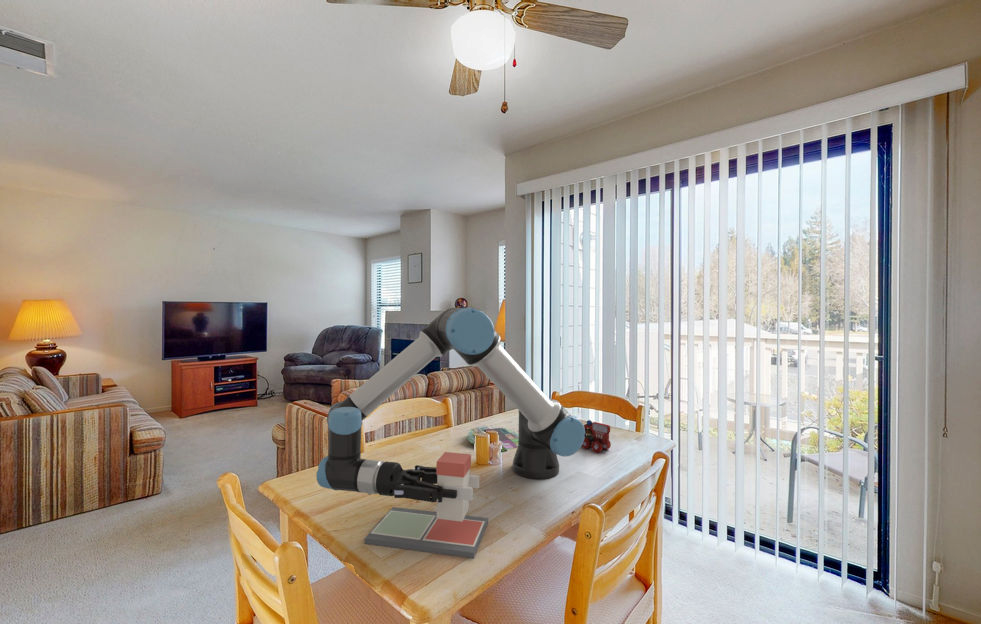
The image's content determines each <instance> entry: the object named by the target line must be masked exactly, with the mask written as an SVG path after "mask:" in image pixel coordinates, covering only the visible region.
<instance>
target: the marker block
mask: <svg viewBox="0 0 981 624" xmlns="http://www.w3.org/2000/svg"><path fill="white" fill-rule="evenodd" d="M471 467H472V454H471V453H459V452H450V451H444V452H443V454H442V455H441V456H440V457H439V458H438V459H437V460H436V468H437V469H436V475H437V484H436V485H439V486H442V487H443V489H444V485H453V486H462V487H469V479H470V475H471V474H470V473H471ZM469 510H470V501H465V500H457V499H448V498H443V497H442V502H440V503H438V499H437V502H436V512H437V519H445V520H453V521H461V522H462V521H463V519H464V517H465V515H466V516H467V513H468V511H469Z"/></svg>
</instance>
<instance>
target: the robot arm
mask: <svg viewBox="0 0 981 624" xmlns="http://www.w3.org/2000/svg"><path fill="white" fill-rule="evenodd" d="M500 343H501V335H500V334H499V333H498V332H497V331H496V330H495V326H494V324H493V321H492V320H491V318H490V317H489V316H488V314H486V312H483V311H482V310H480V309H477V308H474V307H451V308H448V309H447V308H446V309H445V310H444V311H442V312H441V313H439V314H438V315H437V316H436V317H435V318H434V319H433V320H432V321H431V322H429V323H428V324H427V325H426V326H425V327H424V328H422V330H421V331H419V336H418V338H416V339H415V340H413V342H411V343H410V344H409V345H408V346H407V347H405V348H404V349H403V350H402V351H400V353H399V354H397V355H396V356H395V357H394V358H392V359H391V360H390V361H389V362H388V363H386V364H385V365H384V366H383V367H382V368H381V369H379V370H378V371H377V372H376V373H375V374H373V375H372V376H371V377H370V378H369V379H367V380H366V381H365V382H364V383H362V384H361V385H360V386H359V387H358V388H357V389H356V390H354V391H353V392H352V393H351V394H350V395H348V396H347V397H346V398H345V399H343V400H342V401H340V402H337V403H335V404H333V405H332V406H331V407H330V409H329V411H328V413H327V415H326V416H327V417H326V423H327V427H328V428H327V429H328V455H327V456H324V457H323V458H322V459H321V460H320V461H319V464H318V466H317V467H318V469H317V471H316V476H315V477H316V478H315V479H316V482H317V484H318V486H320V487H322V488H324V489H329V490H333V491H346V492H356V493H363V494H367V495H369V496H371V495H379V496H387V497H394V499H408V500H409V499H411V500H415V501H422V502H427V503H428V502H429V503H437V499H438V503H440V502H442V497H443V498H448V499H457V500H465V501H469V502H473V492H474V491H473V490H474V489H479V488H480V475H476V474H475V475H474V474H470V479H469V487H462V486H453V485H444V489H443V487H442V486H439V485H437V475H436V469H437V467H433V466H422V465H417V464H416V465H414V469H413V468H412V469H410V468H409V469H403V468H402V465H401V464H400V463H399V462H395V461H387V460H386V461H383V460H378V459H368V458H367V459H366V458H362V457H361V456H362V455H361V454H362V450H361V448H362V447H361V446H362V444H361V443H362V426H363V421H364V420H365V419H366V418H367V417H368V416H369V415H370V414H371V413H373V412H374V411H375V410H376V409H377V408H379V407H380V405H382V404H384V403H385V402H386V401H387V400H388V398H389V399H390V397H391V396H392V395H394V393H396V392H397V391H398V390H399V389H401V388H402V387H403V386H404V385H405V384H407V382H409V381H410V380H411V379H412V378H413V377H414V376H416V375H417V374H418V373H419V372H420V371H421V370H423V369H424V368H425V367H426V366H427V365H429V363H431V362H432V361H433V360H434V359H435V358H441V357H443V356H444V355H446V354H447V353H448V352H450V351H451V350H454V351H455V352H456V353H457V354H458V356H460V357H461V358H462V360H463V361H465V363H466V364H467V365H469V366H476V367H478V368H479V370H480V371H481V372H483V374H484V375H485V377H487V378H488V379H489V380H490V381H491V383H492V384H494V386H495V387H496V388H497V389H498V390H499V391H500V392H501V393H502V394H503V395H504V396H505V398H507V399H508V401H510V403H511V404H512V405H514V407H515V408H516V409H517V410H518V434H519V440H518V447H516V451H515V454H514V457H513V459H512V471H513V472H514V473H515V474H516V475H518V476H521V477H524V478H528V479H537V480H538V479H539V480H541V479H549V478H550V479H551V478H554V477H555V476H557V475H558V474H559V473H560V462H559V460H558V456H560V457H570V456H572V455H574V454H576V452H578V451H579V450H580V449H581V448H582V444H583V441H584V438H585V437H584V435H585V428H584V425H585V424H583V423H582V420H580V419H579V417H577V416H575V415H571V413H569V412H568V411H567V410H566V408H565V407H564V406H563V404H561V403H560V402H559V401H558V399H557V400H556V399H552V398H551V399H550V398H549V397H548V396H547V395H546V394H545V393H544V392H543V390H541V388H540V387H539V386H538V385H537V384H536V383H535V382H534V381H533V379H531V377H530V376H529V375H528V374H527V373H526V372H525V370H524V369H523V368H522V367H521V366H520V365H519V364H518V362H517V361H515V359H514V358H513V357H512V356H511V355H510V354H509V352H508V351H507V350H506V349H505V348H504V347H503V346H502V345H501V344H500ZM473 488H474V489H473Z"/></svg>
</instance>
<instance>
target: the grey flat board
mask: <svg viewBox="0 0 981 624" xmlns="http://www.w3.org/2000/svg"><path fill="white" fill-rule="evenodd" d="M488 524H489V518H488V517H484V516H483V517H482V516H474V515H467V514H466V515H465V517H464V519H463V521H462V522H461V521H453V520H445V519H437V511H430V510H429V511H428V510H423V509H412V508H405V507H396V506H393V507H391V509H389V511H388V512H387V513H386V514H385V515H384V516H383V517H382V519H381V520H379V521H378V523H377V524H376V525H375V526H374V527H373V528H372V530H371V531H370V532H369V533H368V534H367V535H366V536H365V537H364V544H366V545H370V546H371V545H373V546H380V547H385V548H387V547H388V548H393V549H401V550H409V551H415V552H422V553H423V552H425V553H429V554H431V553H432V554H439V555H446V556H453V557H460V558H468V559H475V557H476V554H477V551H478V549H479V547H480V544H481V541H482V539H483V536H484V534H485V532H486V528H487V526H488Z"/></svg>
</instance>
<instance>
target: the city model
mask: <svg viewBox="0 0 981 624" xmlns="http://www.w3.org/2000/svg"><path fill="white" fill-rule="evenodd" d="M468 430H469V431H468V434H466V436H465V437H466V439H467V440H468V441H469V442H470V443H471V444H473V445H475V436H476V434H479V433H484V432H486V431H491V430H494V431H497V432H498V435H499V441H500V443H501V445H502V449H501V452H500V453H504V452H507V451H510V450H512V449H515V448H516V449H517V448H518V440H519V432H517V431H515V430H512V429H509V428H506V427H503V426H502V427H501V426H494V425H480V426H476V427H473V428H470V429H468Z"/></svg>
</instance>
